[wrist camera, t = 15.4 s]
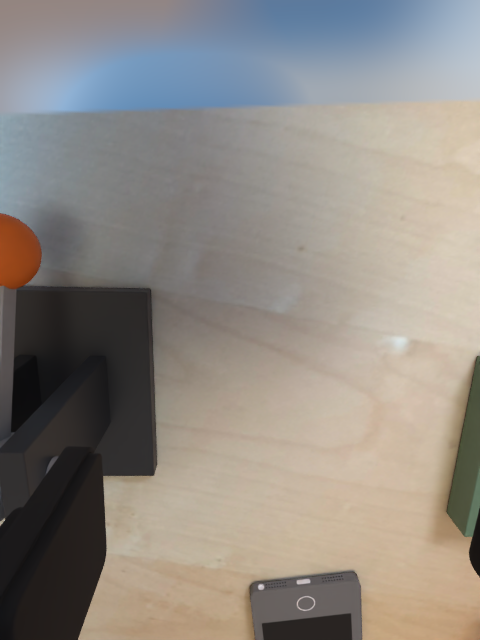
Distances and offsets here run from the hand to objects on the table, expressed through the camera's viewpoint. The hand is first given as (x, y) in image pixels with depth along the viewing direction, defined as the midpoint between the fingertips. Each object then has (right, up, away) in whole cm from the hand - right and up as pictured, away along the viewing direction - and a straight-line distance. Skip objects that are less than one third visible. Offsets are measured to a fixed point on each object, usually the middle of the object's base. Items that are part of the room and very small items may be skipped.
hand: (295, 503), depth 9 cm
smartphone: (+4, -22, +22) cm, 31 cm away
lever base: (-12, +1, +15) cm, 19 cm away
